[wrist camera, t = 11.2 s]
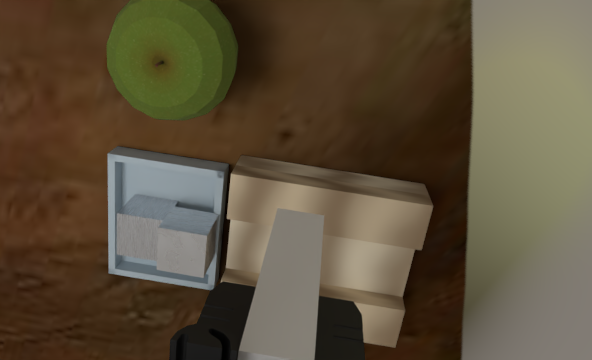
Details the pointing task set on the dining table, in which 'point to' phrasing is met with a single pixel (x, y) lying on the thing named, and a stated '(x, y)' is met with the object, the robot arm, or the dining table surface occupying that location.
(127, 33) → the apple
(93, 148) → the dining table surface
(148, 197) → the grey cube block
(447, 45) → the dining table surface
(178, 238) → the light grey cube
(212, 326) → the robot arm
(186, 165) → the tray
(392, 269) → the slot board
